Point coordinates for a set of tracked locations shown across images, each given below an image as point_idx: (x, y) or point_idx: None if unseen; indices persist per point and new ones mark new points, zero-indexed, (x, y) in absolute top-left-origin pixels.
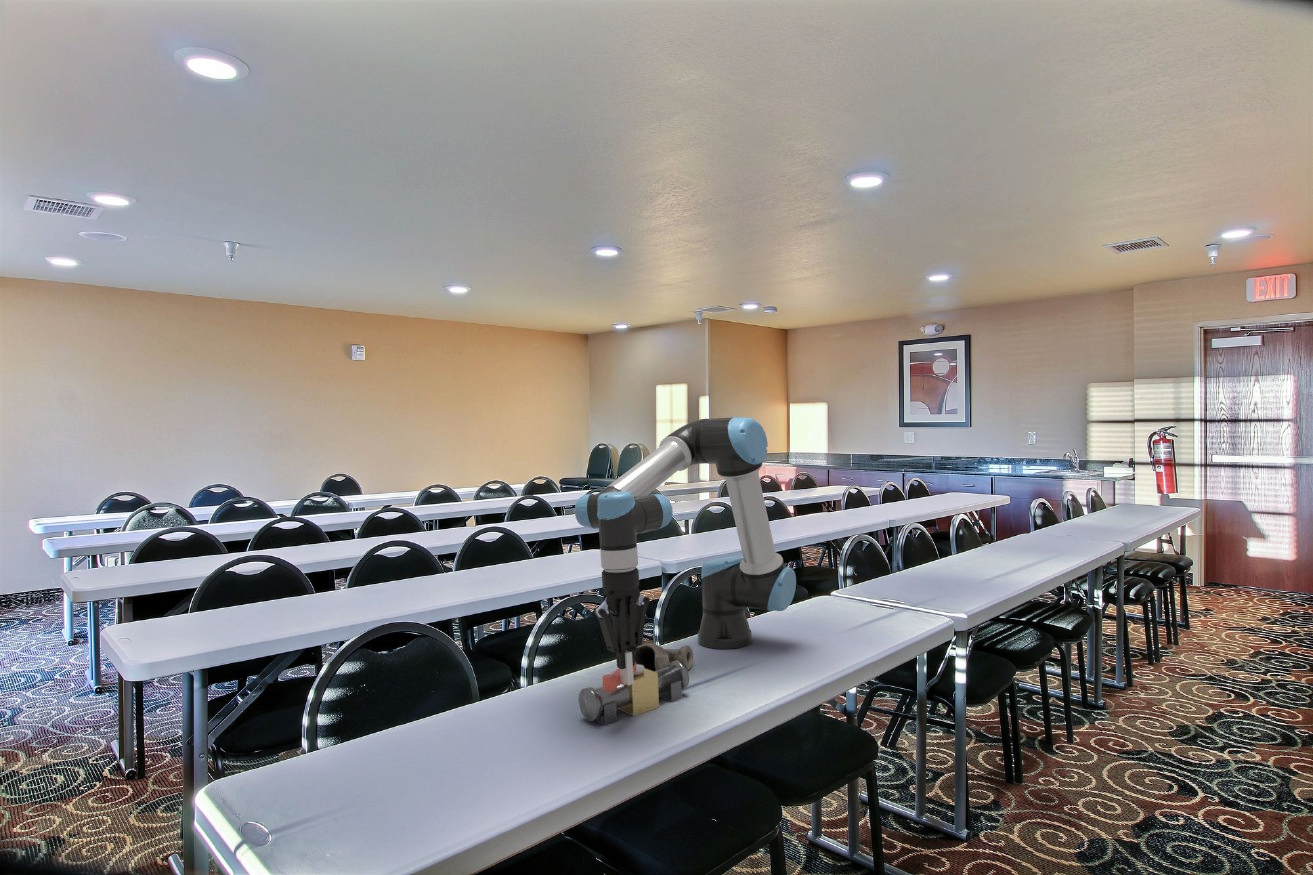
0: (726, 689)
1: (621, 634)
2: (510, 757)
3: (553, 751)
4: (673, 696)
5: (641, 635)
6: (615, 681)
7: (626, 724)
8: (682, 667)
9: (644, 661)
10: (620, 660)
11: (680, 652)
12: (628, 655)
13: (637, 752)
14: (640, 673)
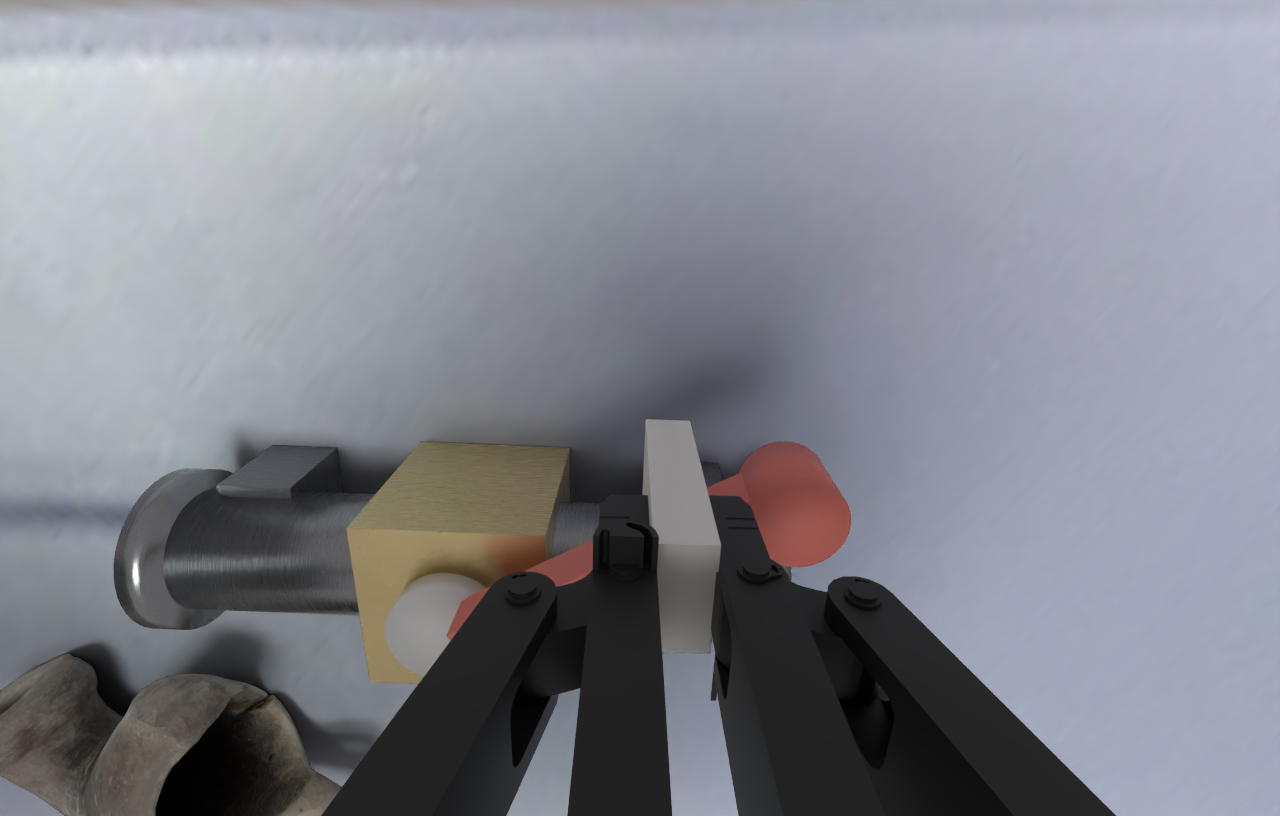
0: (21, 372)
1: (825, 730)
2: (1164, 485)
3: (1033, 410)
4: (313, 456)
5: (476, 648)
6: (778, 471)
7: (647, 403)
8: (144, 534)
9: (219, 792)
10: (761, 540)
11: (22, 738)
12: (697, 530)
13: (824, 118)
14: (446, 574)
